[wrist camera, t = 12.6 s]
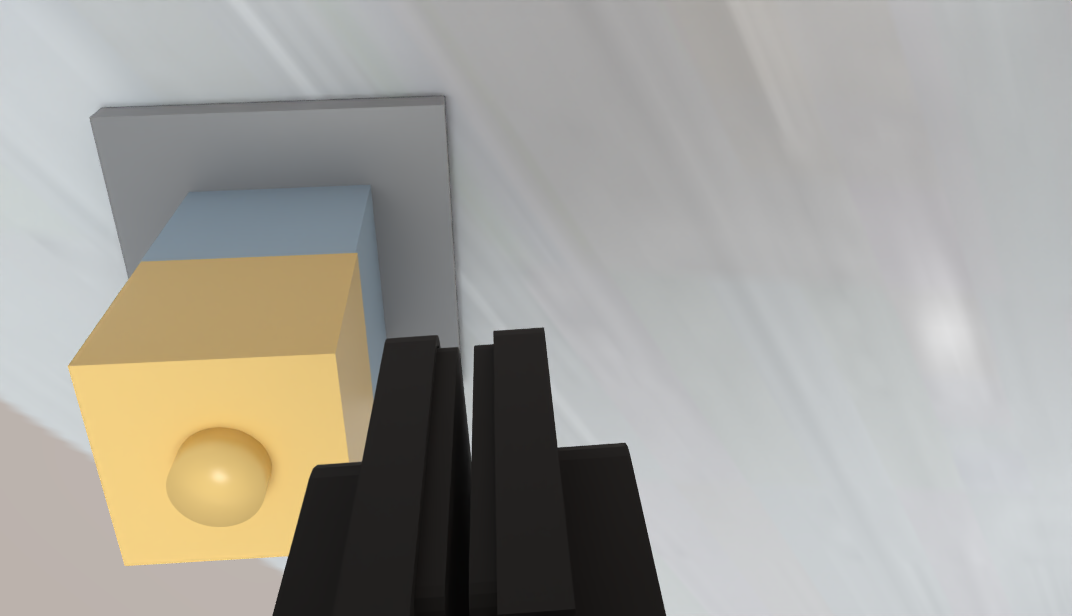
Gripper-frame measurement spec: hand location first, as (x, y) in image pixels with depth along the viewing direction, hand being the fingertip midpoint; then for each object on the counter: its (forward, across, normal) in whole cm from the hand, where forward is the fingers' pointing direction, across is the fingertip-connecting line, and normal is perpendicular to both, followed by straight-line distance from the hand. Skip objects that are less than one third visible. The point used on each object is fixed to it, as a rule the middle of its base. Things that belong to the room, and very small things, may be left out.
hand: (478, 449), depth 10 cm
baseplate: (+25, +8, +8) cm, 27 cm away
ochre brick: (+18, +8, +8) cm, 21 cm away
